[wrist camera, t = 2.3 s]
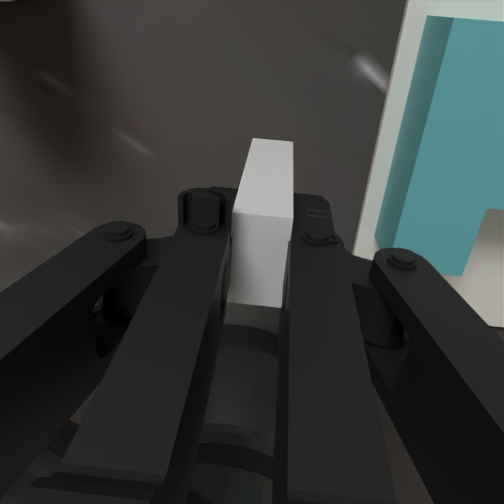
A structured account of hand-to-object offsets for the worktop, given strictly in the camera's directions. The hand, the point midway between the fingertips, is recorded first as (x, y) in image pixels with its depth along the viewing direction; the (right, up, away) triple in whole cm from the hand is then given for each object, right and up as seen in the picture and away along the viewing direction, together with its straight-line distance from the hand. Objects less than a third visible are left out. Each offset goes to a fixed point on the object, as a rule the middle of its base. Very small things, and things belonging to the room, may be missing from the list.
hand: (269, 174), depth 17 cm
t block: (+13, +3, +7) cm, 15 cm away
